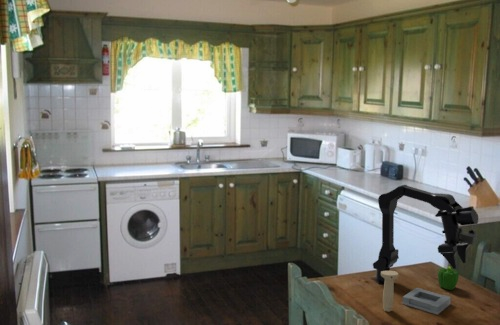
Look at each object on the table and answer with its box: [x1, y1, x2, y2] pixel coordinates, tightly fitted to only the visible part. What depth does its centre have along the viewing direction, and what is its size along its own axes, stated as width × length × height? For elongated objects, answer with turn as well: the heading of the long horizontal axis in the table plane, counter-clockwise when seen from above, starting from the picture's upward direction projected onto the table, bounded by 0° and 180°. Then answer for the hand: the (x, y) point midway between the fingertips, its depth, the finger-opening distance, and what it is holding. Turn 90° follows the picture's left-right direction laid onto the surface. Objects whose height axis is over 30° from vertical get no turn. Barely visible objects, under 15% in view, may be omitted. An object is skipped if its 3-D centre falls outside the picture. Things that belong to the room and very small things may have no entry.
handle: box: [381, 270, 399, 313], centre depth 193 cm, size 5×6×15 cm
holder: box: [402, 287, 452, 315], centre depth 200 cm, size 14×13×3 cm
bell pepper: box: [437, 265, 460, 291], centre depth 216 cm, size 8×8×10 cm
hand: (459, 265), depth 198 cm, fingers open, 9 cm apart
